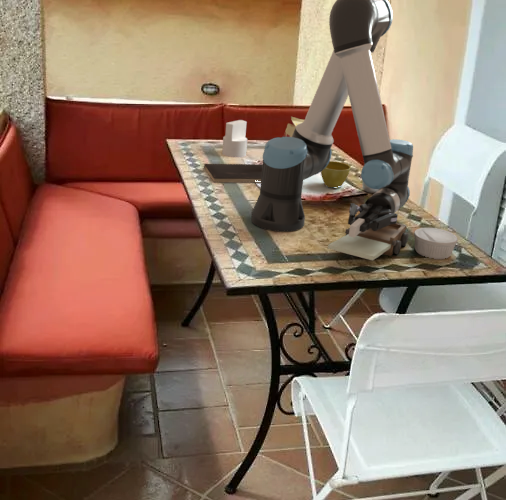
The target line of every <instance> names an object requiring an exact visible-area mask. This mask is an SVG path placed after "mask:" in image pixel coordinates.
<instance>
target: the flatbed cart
mask: <svg viewBox="0 0 506 500" xmlns="http://www.w3.org/2000/svg"><path fill="white" fill-rule="evenodd" d="M349 230H350V227H349V228H346V229H345V232H344V234H345V236H346V235H347V234H349ZM406 230H407V224H403V223H398V222H396V224H391V225H388V226H386V227H384V228H381V229H379V230H377V231H373V230H372V229H371V228H370V229H369V230H366V231H365V232H360V233H359V234H358V235H357V236H360V237H364V238H368V239H372V240H376V241H380V242H384V243H388V244H391V248H390V249H388V250H387V251H386V252H384V253H383V254H382V255H385V256H390V257H392V255H393V254H395V255H399V254H400V251H401V247H402V246H403V247H406V245H407V243H408V239H409V233H408V232H406Z"/></svg>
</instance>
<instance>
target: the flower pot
mask: <svg viewBox="0 0 506 500" xmlns="http://www.w3.org/2000/svg"><path fill="white" fill-rule="evenodd" d="M351 168H352V167H351V166H350V165H349V164H347V163H344V162H340V161H335V160H334V161H332V160H330V161H329V163H328V165H327V166H326V167H325V168H324V169H323V170H322V171H321V172H320V174H321V178H322V181H323V183H324V185H326V186H325V187H327V186H328V187H327V188H329V187H338V186H341V187H342V186H343V184H344V183H345V181H346V180H347V178H348V175H349V173H350V171H351Z"/></svg>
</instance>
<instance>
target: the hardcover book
mask: <svg viewBox="0 0 506 500" xmlns="http://www.w3.org/2000/svg"><path fill="white" fill-rule="evenodd" d="M262 164H263V163H261V164H257V163H256V164H254V163H252V164H251V163H250V164H249V163H247V164H245V163H244V164H243V163H204V165H203V169H205V170H206V173H207V174H208V175H209V177H210V178H211V179H212V181H213V182H214V183H256V182H255V180H256V181H257V180H258V181H261V175H262Z"/></svg>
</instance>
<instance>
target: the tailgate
mask: <svg viewBox="0 0 506 500" xmlns="http://www.w3.org/2000/svg"><path fill="white" fill-rule="evenodd" d="M390 248H391V244H388V243H384V242H380V241H376V240H372V239H368V238H364V237H360V236H356V237H350V236H349V234H347V235H346V234H345V235H343V236H342V237H340V238H338V239H337V240H334V241H333V242H330V243H329V244H328V245H327V250H332V251H336V252H339V253H343V254H347V255H351V256H354V257H359V258H362V259H364V260H365V259H366V260H370V261H374V260H375V259H377V258H379V257H380V256H381V255H384V254H383V253H384V252H386V251H387V250H388V249H390Z"/></svg>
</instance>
